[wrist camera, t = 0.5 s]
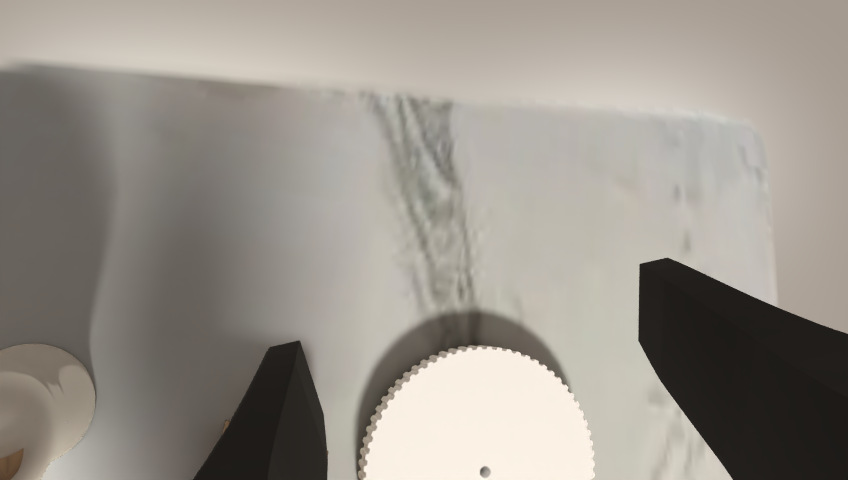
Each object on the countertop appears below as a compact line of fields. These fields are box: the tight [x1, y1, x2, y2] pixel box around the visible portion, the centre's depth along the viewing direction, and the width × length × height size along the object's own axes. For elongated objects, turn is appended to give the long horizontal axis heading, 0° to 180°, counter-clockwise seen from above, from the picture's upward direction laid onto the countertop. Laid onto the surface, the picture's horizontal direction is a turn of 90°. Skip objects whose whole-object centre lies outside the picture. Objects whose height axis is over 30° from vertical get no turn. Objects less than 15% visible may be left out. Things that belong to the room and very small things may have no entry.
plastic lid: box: [358, 345, 595, 480], centre depth 37 cm, size 14×14×2 cm
